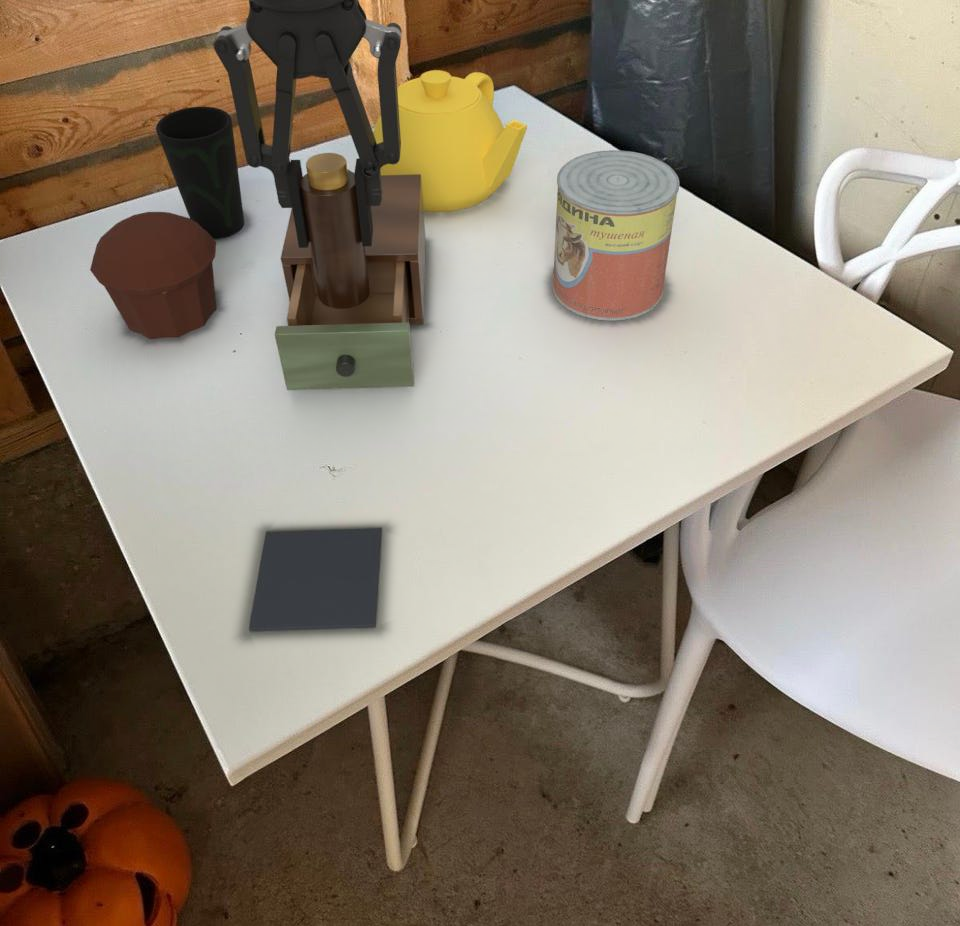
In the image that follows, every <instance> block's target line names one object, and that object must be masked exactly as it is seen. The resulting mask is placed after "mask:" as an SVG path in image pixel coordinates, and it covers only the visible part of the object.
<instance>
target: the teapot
mask: <svg viewBox="0 0 960 926" xmlns="http://www.w3.org/2000/svg"><path fill="white" fill-rule="evenodd" d="M494 86H495V85H494V82H493V80H492V77H490V75H488V74H486V73H483V72H480V71H474V72H471V73H468V75H466V76H465V78H462V77H458V76H452V75H451V74H450V72H448V71H445V70H439V69H433V70H429V71H425V72H423V73H422V74H421V75H420V77H416V78H413V79H410V80H408V81H405V82H403V83H402V84H400V85H399V86H397V92H398V106H399V121H400V136H401V150H400V160H399V162H398V163H396V164H393V165H392V164H386V165H384V166H382V167H381V169H380V170H381V175H413V174H421V182H422V195H423V210H424V212H430V213H445V212H447V213H448V212H455V211H460V210H465V209H467V208H471V207H474V206H476V205H479V204H480V203H482V202H484V201H485V200H487V199H488V198H489V197H491V196H492V195H493V194H494V193H495V192H496V191H497V190H498V189H499V188H500V187H501V186H502V184H503V183H504V182H505V181H506V179H507V178H510V176H511V174H512V171H513V168H514V165H515V162H516V160H517V157H518V154H519V152H520V149H521V146H522V144H523V141H524V138H525V135H526V132H527V129H528V125H527V124H525V123H522V122H520V121H517V120H516V119H513V120H511V121H509V122H508V123H506V124H503V122H502V120H501V118H500V117H499V115H498V113H497V112H496V110H495V109H494V107H493V106H494V98H495V87H494ZM504 125H505V127H504ZM372 131H373V134H374V137H375V140H376V142H377V144H379V143H381V142H383V133H382V121H381V113H380V114H379V117H378V119H377V121H376V122H375V125H374V128H373V130H372Z"/></svg>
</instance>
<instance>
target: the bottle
mask: <svg viewBox="0 0 960 926" xmlns="http://www.w3.org/2000/svg"><path fill="white" fill-rule="evenodd" d="M305 168H306V173H305V174H303V177H302V179H301V181H300V187H301V193H302V199H303V205H304V211H305V217H306V224H307V230H308V236H309V242H310V248H311V254H312V260H313V266H314V273H315V279H316V285H317V291H318V297H319V300H320V301H321V302H322V303H323V304H324V305H326V306H328V307H331V308H336V309H347V308H352V307H355V306H358V305H360V304H362V303H363V302H365V301H366V300H367V299H368V297H369V295H370V286H369V278H368V269H367V260H366V252H365V246H362V238H361V229H360V221H359V212H358V204H357V195H356V187H355V178H354V173H355V172H353V171H352V170H350V169H348V164H347V159H346V158H345V157H344V155H341V154H339V153H335V152H323V153H318V154H315V155H313V156H310V157H309V158H308V159H307V160H306V162H305Z"/></svg>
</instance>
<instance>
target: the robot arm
mask: <svg viewBox="0 0 960 926" xmlns="http://www.w3.org/2000/svg"><path fill="white" fill-rule="evenodd" d="M248 3H249V7H248V15H247V18H246V20H245V22H244V23H242V24H239V25H237V26H235V27H231V26H229V25H226V26H222V27H221V28H220V30H219V32H218V34H217V36H216V39H215V41H214V44H213V49H214V52H215V53H216V55H217V57H218V59H219V60H220V62H221V64H222V65H223V67H224V69H225V71H226V72H227V76H228V80H229V85H230V89H231V95H232V99H233V105H234V109H235V114H236V119H237V123H238V128H239V133H240V137H241V142H242V148H243V151H244V156H245V162H246V163H247V165H248V166H249V167H251V168H254V169H256V168H260V167H262V168H264V169H267V170H269V171H270V172H271V174H272V175H273V181H274V186H275V191H276V195H277V202H278V204H279V205H280V208H281V209H291V210H293V216H294V221H295V227H296V233H297V239H298V245H299V248H308V245H309V236H308V230H307V224H306V217H305V211H304V205H303V199H302V193H301V187H300V181H301V179H302V177H303V176H304V174H303V170H302V169H303V168H302V163H301V159H290V157H291V152H292V149H291V147H292V137H293V136H292V135H293V125H294V124H293V123H294V113H295V110H294V109H295V103H296V102H295V101H296V88H297V80H302V79H305V78H308V77H317V78H321V79H328V81H329V84H330V87H331V89H332V91H333V93H334V94H335V96H336V98H337V101H338V104H339V107H340V110H341V113H342V115H343V118H344V120H345V123H346V126H347V129H348V131H349V134H350V136H351V137H350V138H351V140H352V142H353V145H354V148H355V151H356V153H357V156H358V158H356V159H355V167H354V172H353V173H354V178H355V187H356V195H357V204H358V212H359V221H360V229H361V238H362V246H372V236H373V222H372V212H371V206H380V203H381V201H382V181H381V170H380V169H381V167H382V166H384V165H386V164H392V165H393V164H396V163H398V162H399V160H400V150H401V136H400V121H399V106H398V92H397V88H398V80H397V79H398V78H397V64H396V63H397V60H398V56H399V53H400V50H401V42H402V33H403V30H402V27H401V26H400V25H399V24H398V23H396V22H389V23H388V24H387V25H385V24H381V23H379V22H376V21H373V20H370V19H368V18H367V14H366V12H365V10H364V9H363V6H361V4H360V0H248ZM362 39H365V40H366V41H367V42H368V44H369V52H370V54H371V56H372V57H373V58H376V59H378V63H377V84H378V95H379V107H380V108H379V109H380V114H381V121H382V133H383V142H381V143H379V144H377V142H376V140H375V137H374V134H373V131H374V130H373V128H372V125H371V123H370V120H369V117H368V113H367V110H366V108H365V105H364V103H363V99H362V97H361V94H360V91H359V88H358V86H357V85H358V84H357V82H356V80H355V77H354V73H353V66H352V64H351V61H350V59H351V58H352V57H353V54H354V53H355V51H356V49H357V48H358V47H359V44H360V43H361V41H362ZM252 41H253V42H254V43H255V44H256V46H258V48H259V49H260V50H261V51H262V52H263V53H264V55H266V57H267V58H268V59H269V60H270V61H271V62H272V64H274V66H275V67H276V76H275V77H276V79H275V101H274V102H275V103H274V116H273V129H272V130H273V132H272V143H271V145H270V144H266V138H265V133H264V128H263V123H262V117H261V113H260V107H259V102H258V97H257V92H256V85H255V81H254V76H253V71H252V66H251V62H250V56H251V53H252V49H253V48H252V45H251V43H252Z"/></svg>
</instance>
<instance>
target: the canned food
mask: <svg viewBox="0 0 960 926" xmlns="http://www.w3.org/2000/svg"><path fill="white" fill-rule="evenodd" d="M556 184H557V192H556V193H557V194H556V195H557V196H556V214H555V215H556V217H555V236H554V237H555V238H554V254H553V255H554V257H553V260H554V261H553V277H552V280H551V281H552V282H551V290H552V293H553V295H554V297H555V299H556V300H557V301H558V302H559V304H561V305H562V306H563V307H564V308H566V309H567V310H569V311H570V312H572V313H573V314H577V315H579V316H580V317H581V316H582V317H584V318H588V319H592V320H599V321H609V322H610V321H612V322H613V321H614V322H615V321H624V320H631V319H635V318H638V317H641V316H643V315H645V314H648V313H649V312H651V311H652V310H653V309H655V308H656V307H657V306H658V305H659V303H661V300H662V299H663V296H664V288H665V287H664V285H665V278H666V270H667V263H668V257H669V250H670V244H671V238H672V231H673V223H674V217H675V210H676V205H677V204H676V203H677V197H678V193H679V191H680V178H679V176H678V174H677V173H676V171H675V170H674V169H673V168H672V167H671V166H670V165H668V164H667V163H665V162H664V161H662V160H661V159H658V158H657V157H653V156H651V155H649V154H645V153H641V152H636V151H629V150H599V151H593V152H589V153H584V154H581V155H579V156H576V157H574V158H573V159H570V160H569V161H567V162H566V163H565V164H564V165H562V166H561V167H560V169H559V171H558V173H557V175H556Z"/></svg>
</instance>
